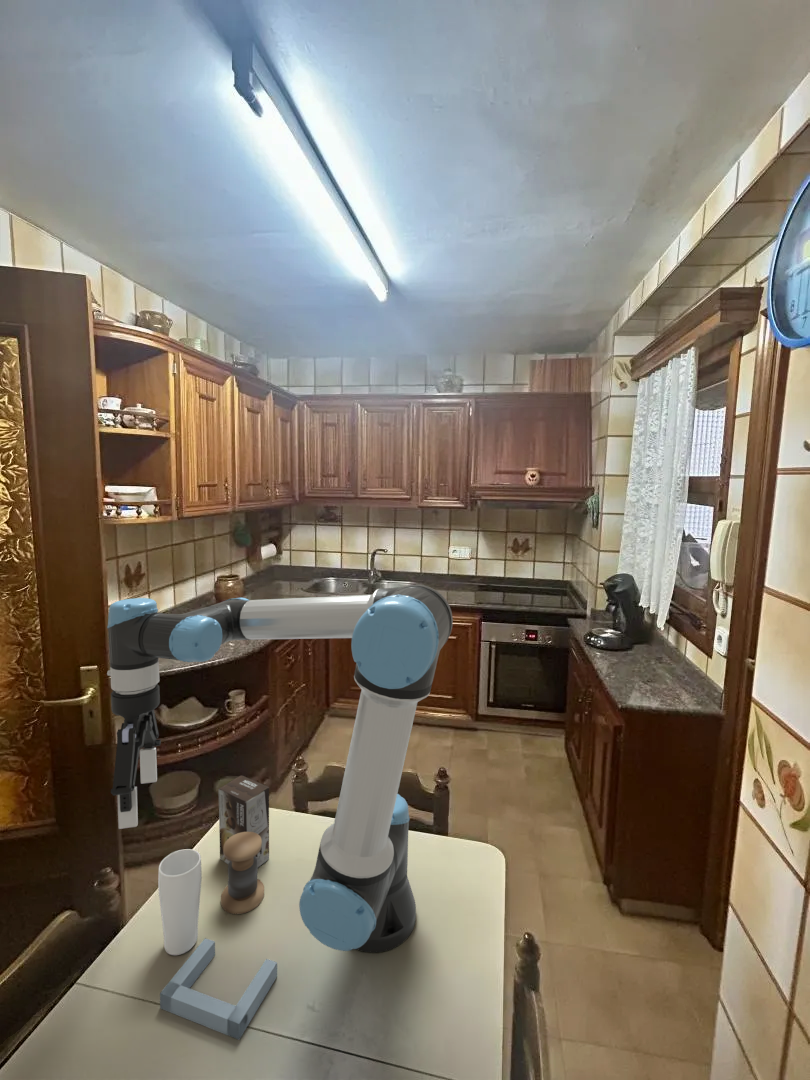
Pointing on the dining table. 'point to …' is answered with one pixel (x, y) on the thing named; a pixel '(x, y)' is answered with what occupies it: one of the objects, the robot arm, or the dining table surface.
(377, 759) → the robot arm
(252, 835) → the bobbin
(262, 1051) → the dining table surface
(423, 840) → the dining table surface
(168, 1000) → the blue u-shaped block
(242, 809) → the coffee box
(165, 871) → the drinking glass
